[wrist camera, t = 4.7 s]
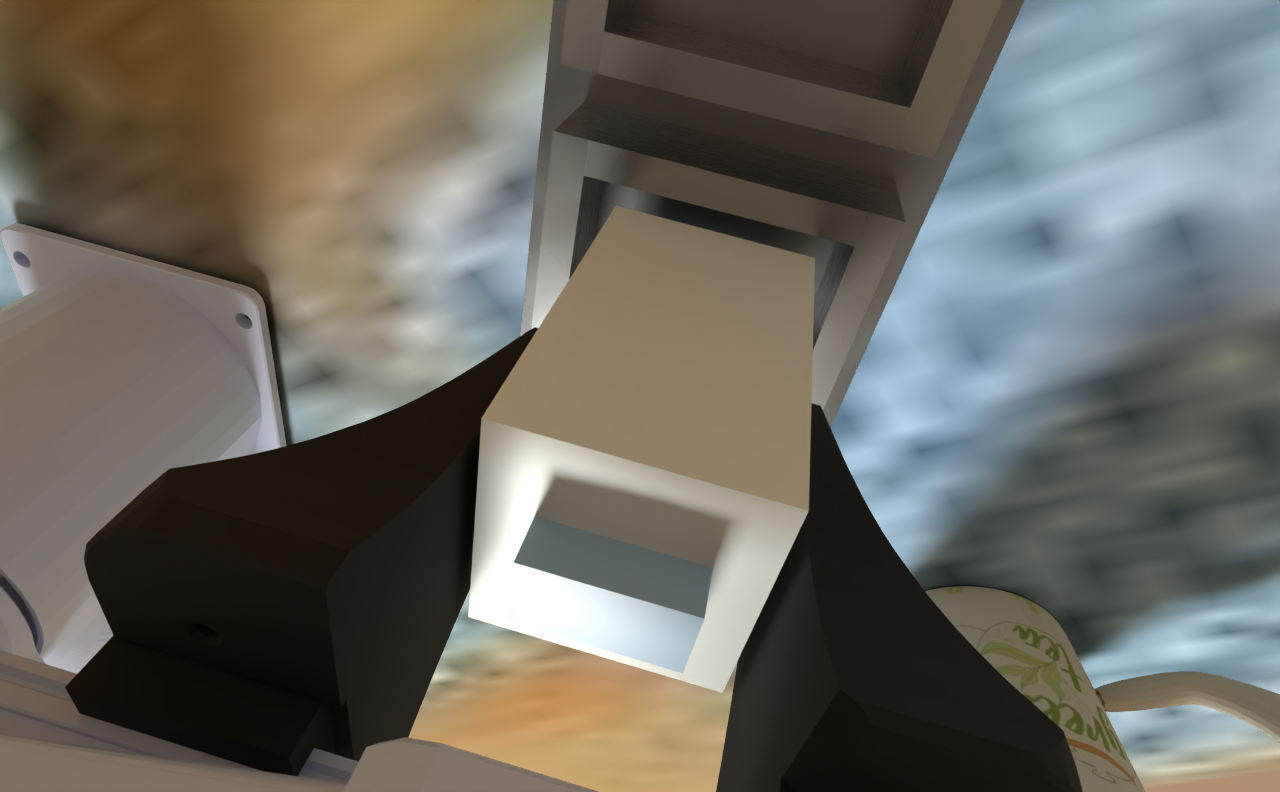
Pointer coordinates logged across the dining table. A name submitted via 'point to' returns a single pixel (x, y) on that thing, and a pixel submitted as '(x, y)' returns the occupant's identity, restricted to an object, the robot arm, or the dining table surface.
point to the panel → (761, 137)
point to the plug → (651, 451)
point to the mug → (1086, 682)
